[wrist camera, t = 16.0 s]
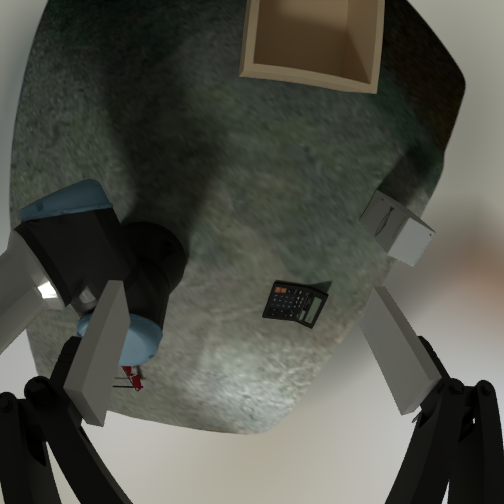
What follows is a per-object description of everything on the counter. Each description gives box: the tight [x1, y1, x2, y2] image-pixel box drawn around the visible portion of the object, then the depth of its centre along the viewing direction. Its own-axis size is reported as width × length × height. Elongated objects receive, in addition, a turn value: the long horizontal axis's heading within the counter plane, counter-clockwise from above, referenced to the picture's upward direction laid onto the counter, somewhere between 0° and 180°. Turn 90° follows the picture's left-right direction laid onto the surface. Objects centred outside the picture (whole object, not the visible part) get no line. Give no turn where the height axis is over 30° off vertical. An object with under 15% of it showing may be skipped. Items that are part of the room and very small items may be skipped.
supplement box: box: [359, 190, 436, 267], centre depth 49 cm, size 7×7×13 cm
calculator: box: [262, 282, 329, 329], centre depth 62 cm, size 9×12×3 cm
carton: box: [239, 0, 385, 94], centre depth 32 cm, size 17×18×12 cm
